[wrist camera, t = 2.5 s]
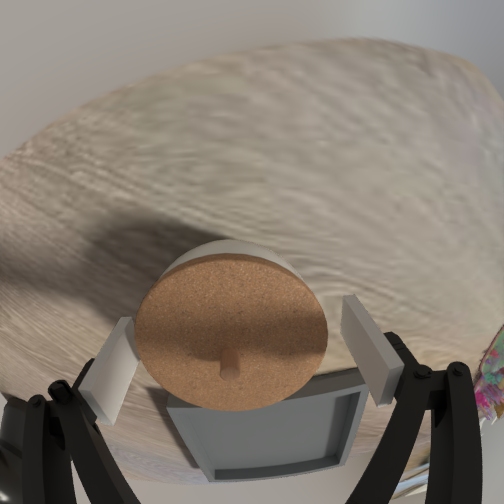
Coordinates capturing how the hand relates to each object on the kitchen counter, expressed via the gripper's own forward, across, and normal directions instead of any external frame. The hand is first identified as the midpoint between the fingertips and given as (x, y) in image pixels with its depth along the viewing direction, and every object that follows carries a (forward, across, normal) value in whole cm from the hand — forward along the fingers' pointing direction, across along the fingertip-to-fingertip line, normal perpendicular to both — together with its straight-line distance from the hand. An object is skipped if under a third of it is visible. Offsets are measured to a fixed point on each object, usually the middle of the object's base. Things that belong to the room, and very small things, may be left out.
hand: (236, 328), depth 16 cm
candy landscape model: (+7, -46, +22) cm, 52 cm away
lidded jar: (+6, 0, 0) cm, 6 cm away
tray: (+5, -2, +21) cm, 22 cm away
